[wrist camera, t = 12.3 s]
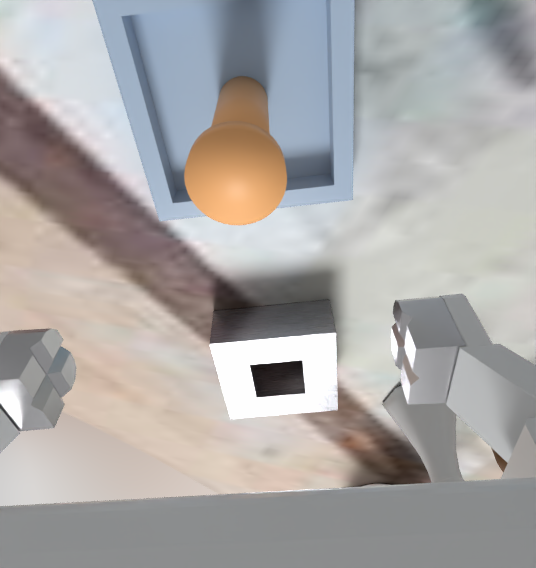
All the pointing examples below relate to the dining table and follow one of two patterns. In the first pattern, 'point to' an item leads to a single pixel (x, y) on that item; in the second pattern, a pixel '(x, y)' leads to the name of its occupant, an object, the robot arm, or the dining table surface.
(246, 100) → the wooden peg
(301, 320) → the metal block with hole
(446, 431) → the flask
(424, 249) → the dining table surface
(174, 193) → the tray
